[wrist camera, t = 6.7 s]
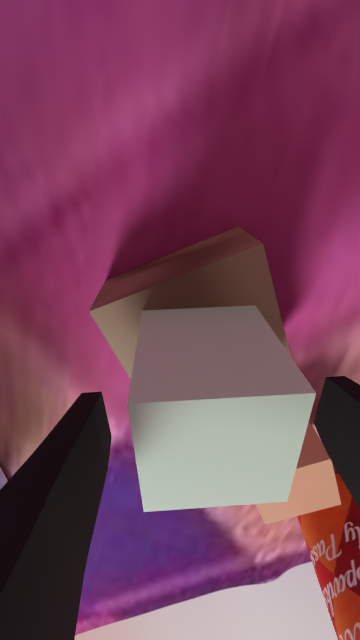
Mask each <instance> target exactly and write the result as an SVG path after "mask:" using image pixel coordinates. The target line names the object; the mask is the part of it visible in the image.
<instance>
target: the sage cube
mask: <svg viewBox="0 0 360 640" xmlns="http://www.w3.org/2000/svg"><path fill="white" fill-rule="evenodd" d="M315 396H316V392H315V390H314V389H313V388H312V386H311V385H310V383H309V382H308V380H307V379H306V378H305V376H304V375H303V373H302V372H301V370H300V369H299V367H298V366H297V365H296V363H295V362H294V360H293V359H292V357H291V356H290V355H289V353H288V352H287V350H286V349H285V347H284V346H283V344H282V343H281V342H280V340H279V339H278V337H277V336H276V334H275V333H274V331H273V330H272V329H271V327H270V326H269V324H268V323H267V321H266V320H265V319H264V317H263V316H262V314H261V313H260V311H259V310H258V308H257V307H256V306H255V305H251V306H230V307H208V308H186V309H165V310H143V311H142V313H141V319H140V326H139V332H138V338H137V345H136V351H135V358H134V364H133V370H132V377H131V383H130V390H129V396H128V402H127V405H128V412H129V418H130V425H131V431H132V438H133V444H134V451H135V457H136V464H137V470H138V477H139V483H140V490H141V496H142V503H143V509H144V512H149V511H163V510H177V509H191V508H205V507H220V506H234V505H248V504H262V503H276V502H287V501H288V497H289V493H290V489H291V486H292V482H293V478H294V474H295V471H296V467H297V463H298V459H299V456H300V452H301V448H302V444H303V441H304V437H305V433H306V429H307V426H308V422H309V418H310V414H311V411H312V407H313V403H314V400H315Z"/></svg>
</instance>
